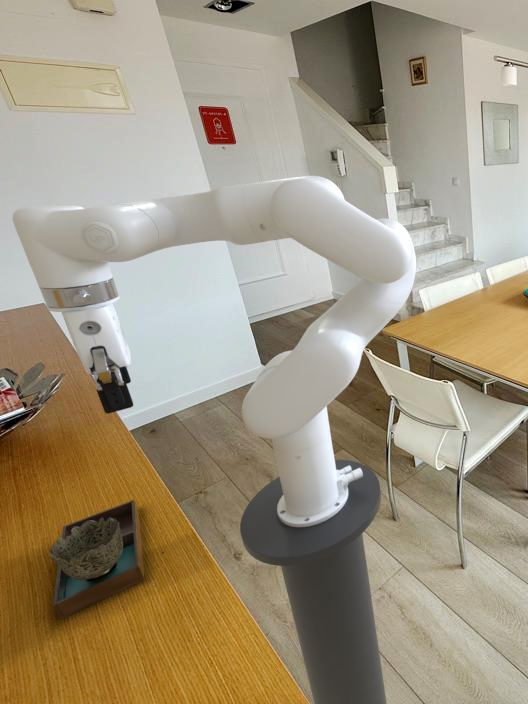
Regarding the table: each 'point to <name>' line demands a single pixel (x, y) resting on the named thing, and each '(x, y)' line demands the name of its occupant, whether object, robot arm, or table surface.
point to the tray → (128, 573)
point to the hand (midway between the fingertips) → (119, 396)
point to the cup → (90, 550)
